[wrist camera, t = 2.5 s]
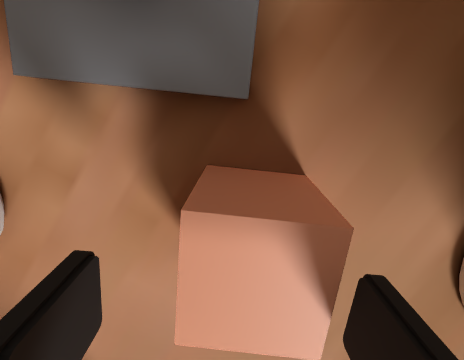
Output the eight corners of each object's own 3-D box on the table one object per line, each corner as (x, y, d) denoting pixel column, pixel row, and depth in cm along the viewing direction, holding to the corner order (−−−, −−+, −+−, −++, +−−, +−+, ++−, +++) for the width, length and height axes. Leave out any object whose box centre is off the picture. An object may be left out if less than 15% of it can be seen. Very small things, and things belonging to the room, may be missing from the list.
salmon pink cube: (306, 175, 16) (353, 228, 9) (289, 261, 17) (320, 360, 11) (207, 164, 16) (180, 210, 9) (200, 252, 17) (174, 344, 11)
